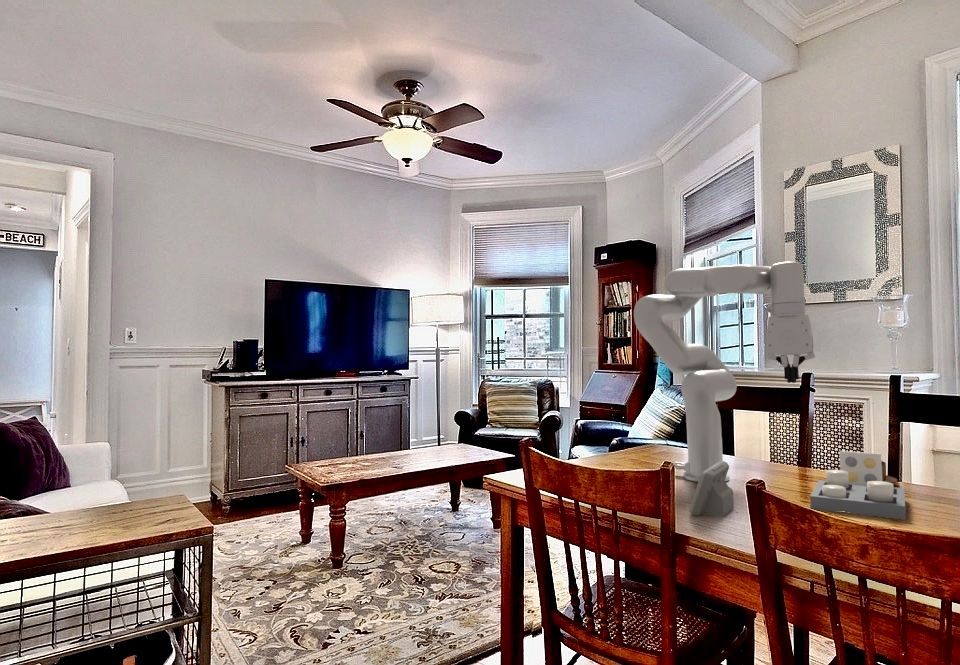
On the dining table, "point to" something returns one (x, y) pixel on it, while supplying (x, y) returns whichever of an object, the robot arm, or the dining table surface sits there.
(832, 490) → the button
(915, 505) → the dining table surface
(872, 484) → the button
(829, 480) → the button
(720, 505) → the grey slanted panel stand
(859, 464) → the card
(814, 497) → the button board
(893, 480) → the cup and saucer
